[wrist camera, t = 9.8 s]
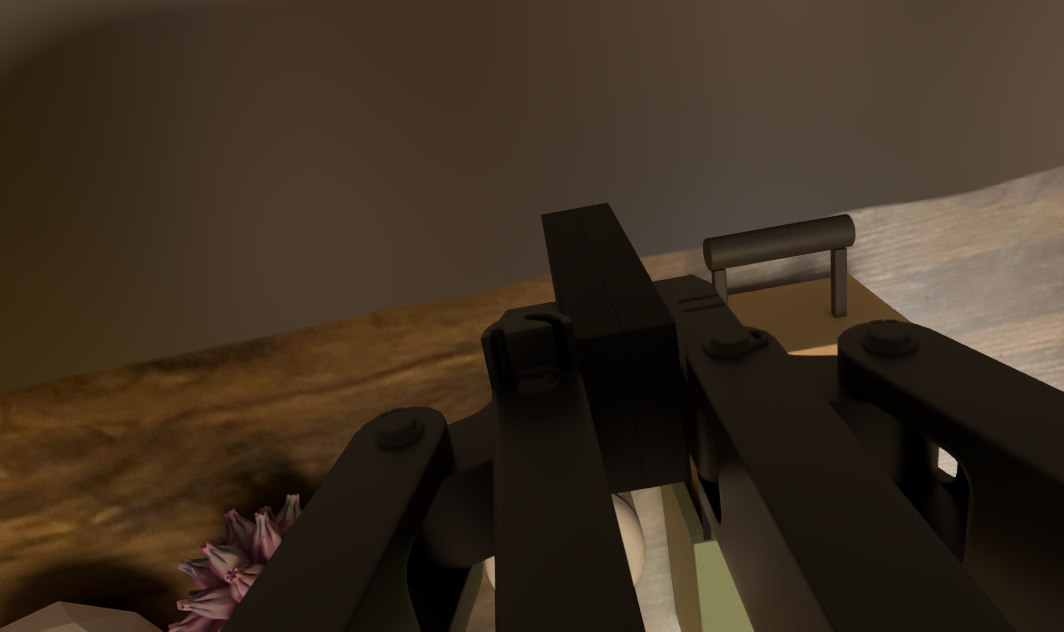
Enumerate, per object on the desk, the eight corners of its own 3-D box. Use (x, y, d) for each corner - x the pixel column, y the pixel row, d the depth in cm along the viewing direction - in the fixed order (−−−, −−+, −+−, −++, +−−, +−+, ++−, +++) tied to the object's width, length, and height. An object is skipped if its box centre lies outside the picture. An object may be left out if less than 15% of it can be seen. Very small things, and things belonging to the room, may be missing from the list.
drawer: (642, 220, 41) (675, 267, 34) (849, 183, 41) (926, 223, 34) (673, 497, 48) (705, 585, 41) (848, 467, 48) (911, 550, 41)
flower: (217, 454, 48) (395, 458, 46) (255, 602, 52) (419, 613, 50) (92, 576, 38) (315, 589, 35) (152, 750, 42) (354, 771, 40)
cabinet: (655, 443, 48) (693, 544, 39) (851, 409, 48) (934, 503, 39) (675, 614, 54) (713, 736, 45) (851, 584, 53) (922, 701, 45)
